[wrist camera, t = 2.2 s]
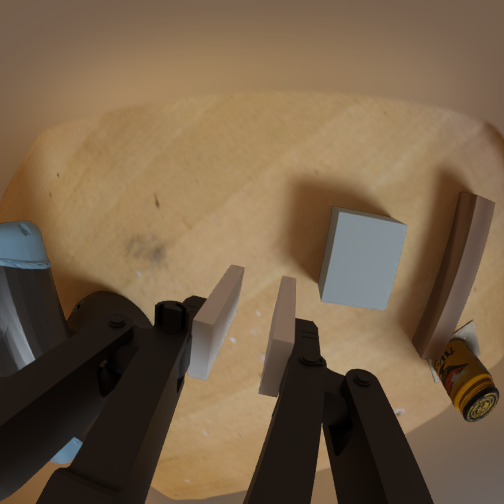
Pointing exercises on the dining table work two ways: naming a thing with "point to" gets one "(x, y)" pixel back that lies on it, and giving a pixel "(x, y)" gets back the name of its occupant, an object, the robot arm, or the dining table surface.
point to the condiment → (466, 375)
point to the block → (360, 258)
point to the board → (455, 275)
